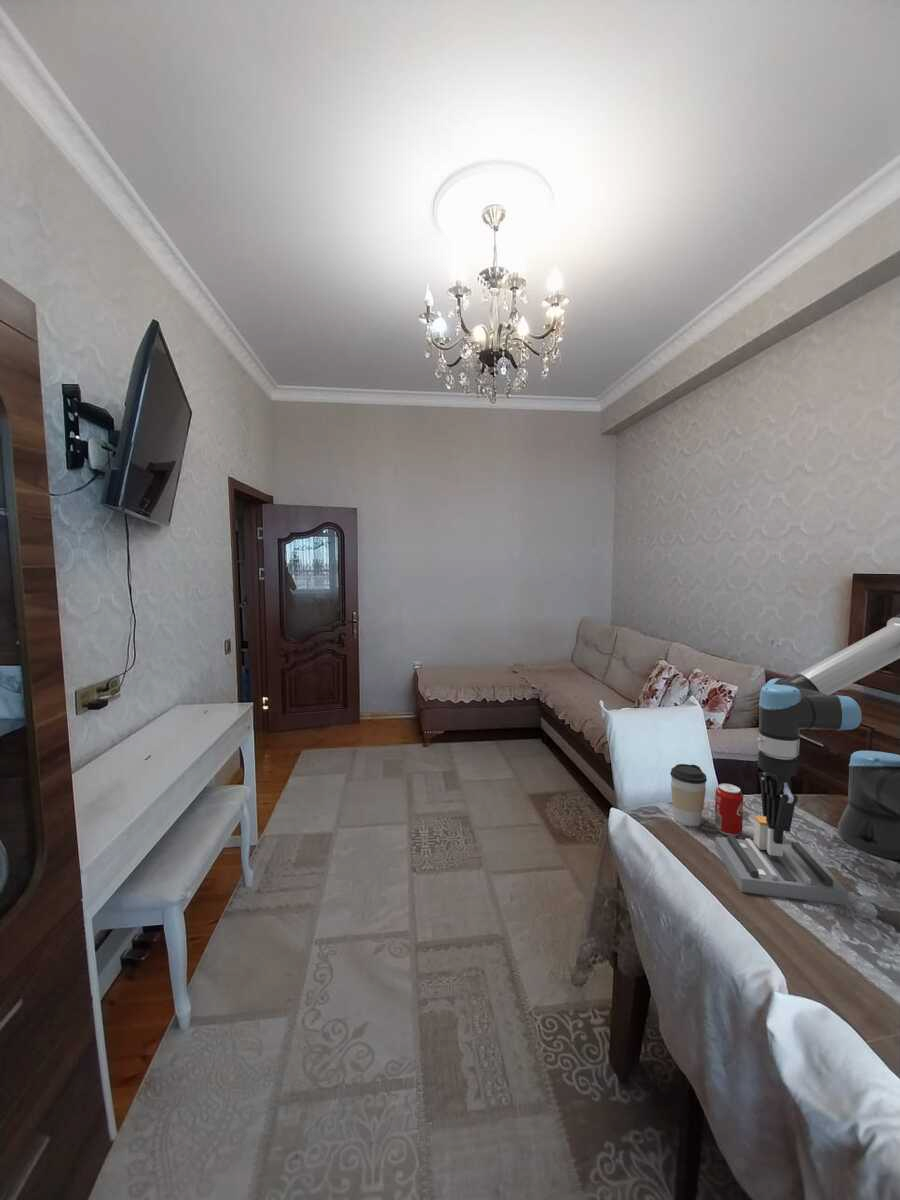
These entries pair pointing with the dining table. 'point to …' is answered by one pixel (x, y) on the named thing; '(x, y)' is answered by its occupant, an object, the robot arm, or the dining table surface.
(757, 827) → the orange-topped grey block
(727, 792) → the beverage can
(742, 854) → the dark grey rail
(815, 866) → the dark grey bar
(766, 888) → the panel
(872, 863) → the dining table surface
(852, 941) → the dining table surface
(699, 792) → the coffee cup
